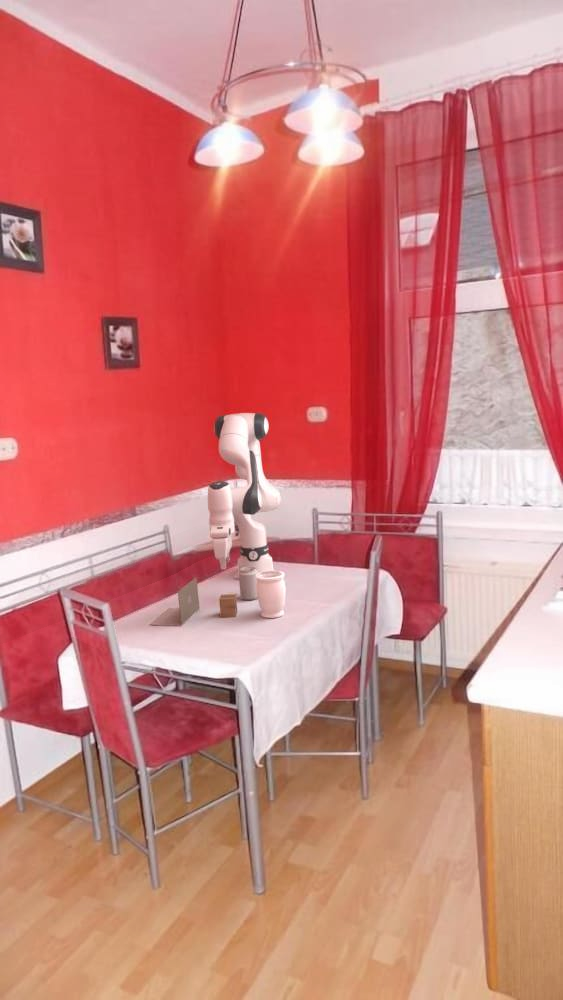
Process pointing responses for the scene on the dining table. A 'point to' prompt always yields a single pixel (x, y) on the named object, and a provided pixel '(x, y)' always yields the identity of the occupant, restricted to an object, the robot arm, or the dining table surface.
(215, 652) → the dining table surface
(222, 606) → the walnut block
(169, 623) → the laptop
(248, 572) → the can
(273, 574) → the jar
